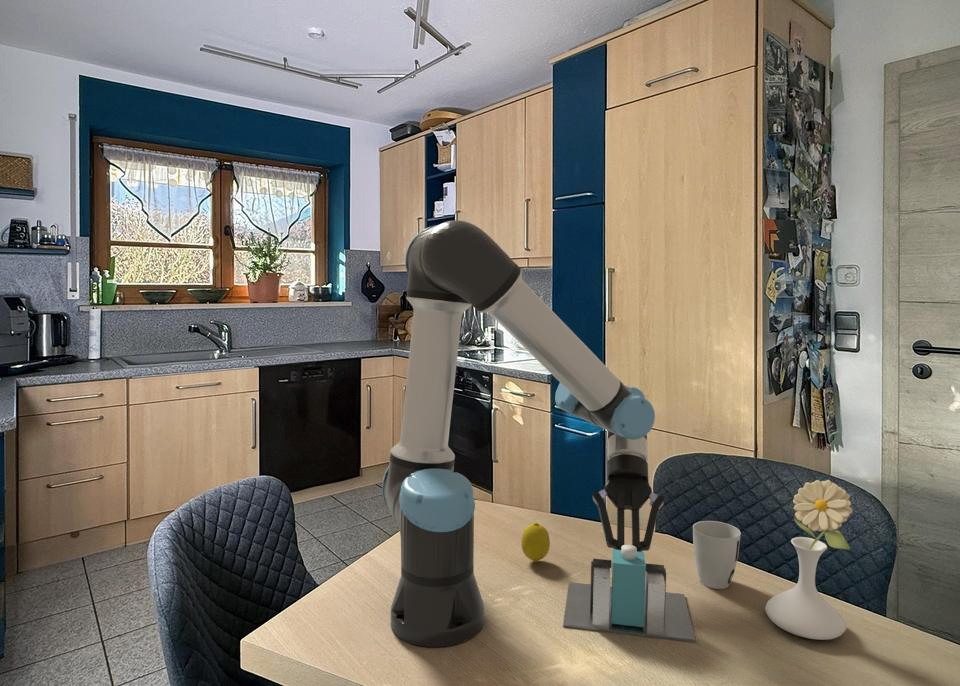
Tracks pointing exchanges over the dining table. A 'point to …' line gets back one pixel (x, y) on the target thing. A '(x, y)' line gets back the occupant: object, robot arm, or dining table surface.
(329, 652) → the dining table surface
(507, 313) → the robot arm
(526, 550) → the lemon
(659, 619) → the steel clamp
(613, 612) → the teal post
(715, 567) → the cup
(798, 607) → the flower in vase
